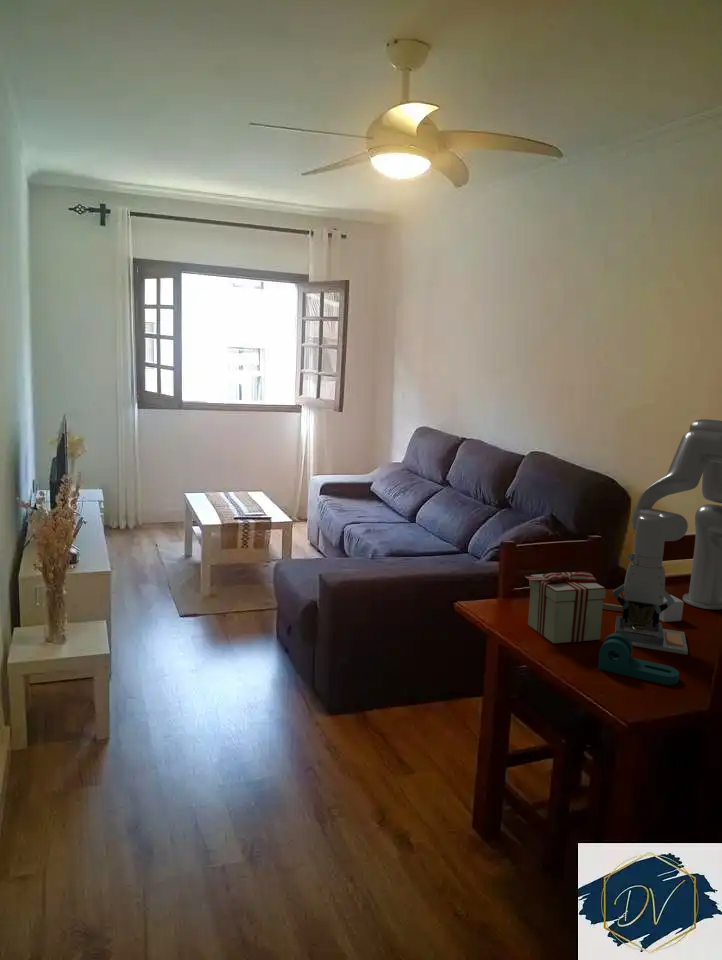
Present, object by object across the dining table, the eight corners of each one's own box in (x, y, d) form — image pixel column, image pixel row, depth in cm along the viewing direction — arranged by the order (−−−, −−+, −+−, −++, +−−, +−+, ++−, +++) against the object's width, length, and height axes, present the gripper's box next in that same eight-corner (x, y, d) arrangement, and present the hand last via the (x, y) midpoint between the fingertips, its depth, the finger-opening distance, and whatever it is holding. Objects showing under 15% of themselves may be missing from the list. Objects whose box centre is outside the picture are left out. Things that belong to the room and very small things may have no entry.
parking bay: (585, 605, 221) (585, 600, 220) (626, 611, 217) (627, 606, 216) (583, 618, 210) (583, 613, 209) (626, 625, 206) (627, 620, 205)
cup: (622, 630, 195) (625, 602, 194) (626, 621, 202) (629, 594, 200) (651, 636, 192) (655, 607, 191) (654, 627, 198) (658, 599, 197)
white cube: (668, 613, 217) (671, 594, 216) (681, 621, 211) (683, 601, 210) (650, 614, 215) (653, 595, 214) (663, 621, 210) (665, 602, 208)
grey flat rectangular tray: (615, 624, 206) (616, 614, 205) (683, 635, 200) (685, 625, 199) (614, 642, 193) (615, 632, 192) (687, 654, 187) (688, 643, 186)
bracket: (597, 669, 177) (600, 639, 175) (602, 659, 182) (605, 630, 181) (676, 688, 168) (680, 656, 167) (679, 677, 174) (683, 646, 173)
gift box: (563, 616, 211) (568, 559, 208) (604, 640, 194) (611, 579, 191) (513, 621, 205) (518, 563, 202) (551, 647, 188) (557, 584, 185)
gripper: (612, 560, 193) (606, 623, 196) (683, 569, 187) (674, 633, 190) (613, 552, 200) (607, 613, 203) (681, 561, 194) (673, 623, 197)
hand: (639, 622), depth 197 cm, fingers closed on cup, 6 cm apart
